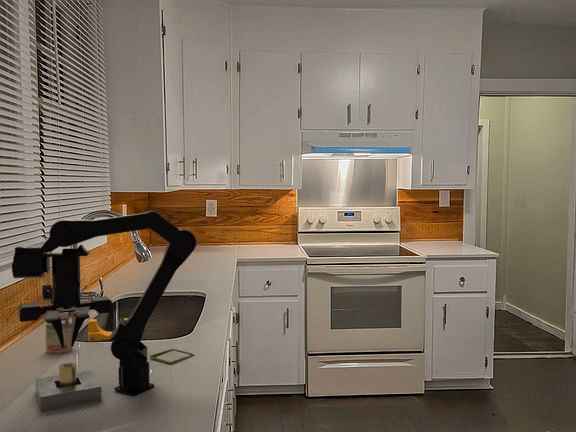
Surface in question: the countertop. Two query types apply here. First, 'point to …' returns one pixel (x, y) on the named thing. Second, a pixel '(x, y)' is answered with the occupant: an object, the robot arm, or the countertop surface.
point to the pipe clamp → (98, 331)
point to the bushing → (67, 374)
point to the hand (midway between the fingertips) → (67, 347)
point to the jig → (67, 391)
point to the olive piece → (167, 352)
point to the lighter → (52, 337)
